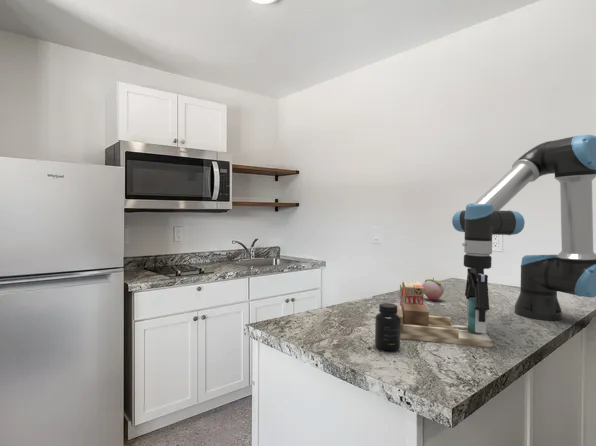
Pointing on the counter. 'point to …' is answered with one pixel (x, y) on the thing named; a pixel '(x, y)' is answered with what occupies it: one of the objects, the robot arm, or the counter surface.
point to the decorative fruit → (433, 289)
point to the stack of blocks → (411, 293)
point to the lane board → (442, 332)
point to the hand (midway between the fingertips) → (475, 326)
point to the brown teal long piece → (420, 316)
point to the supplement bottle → (387, 328)
